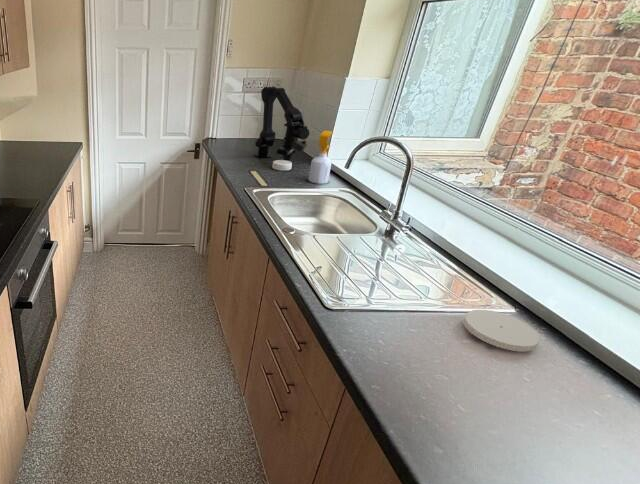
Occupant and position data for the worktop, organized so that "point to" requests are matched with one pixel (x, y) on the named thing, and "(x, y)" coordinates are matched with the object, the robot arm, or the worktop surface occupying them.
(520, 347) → the plastic lid
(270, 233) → the worktop surface
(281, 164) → the white round container
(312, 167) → the soap bottle
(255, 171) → the strip
